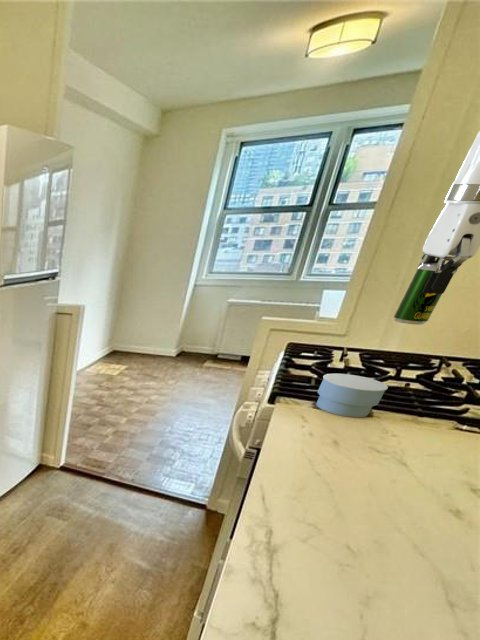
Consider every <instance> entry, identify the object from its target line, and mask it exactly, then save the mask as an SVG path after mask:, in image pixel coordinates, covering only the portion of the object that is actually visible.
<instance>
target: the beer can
mask: <svg viewBox="0 0 480 640" xmlns="http://www.w3.org/2000/svg"><path fill="white" fill-rule="evenodd" d="M445 264H446V263H445ZM445 264H444V265H445ZM437 265H438V263H422V265H421V266H420V267H419V268H418V267H417V269H416V271H415V274H414V276H413V277H412V279H411V281H410V284H409V285H408V288H407V290H406V291H405V294H404V295H403V298H402V300H401V301H400V303H399V305H398V308H397V309H396V312H395V314H394V316H393V321H394V322H397V323H401V324H407V325H415V326H416V325H419V326H421V325H425V324H426V323H428V321H429V319H430V317H431V316H432V313H433V312H434V311H435V309H436V306H437V304H438V303H439V301H440V299H441V297H442V295H443V294H433V293H423V292H422V291H423V289H424V287H425V285H426V283H427V281H428V279H429V277H430V275H431V273H435V270H436V268H437Z"/></svg>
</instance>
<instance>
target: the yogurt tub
mask: <svg viewBox="0 0 480 640" xmlns="http://www.w3.org/2000/svg"><path fill="white" fill-rule="evenodd" d="M388 388H389V387H388V385H387V384H385V383H383V382H382V381H380V380H376V379H373V378H370V377H365V376H362V375H361V376H360V375H355V374H349V373H326V374H324V375H323V376H322V381H321V383H320V385H319V387H318V390H317V394H318V395H319V396H318V399H317V400H316V402H315V406H316V407H318V408H319V409H321V410H322V411H325V412H327V413H330V414H334V415H338V416H341V417H343V416H344V417H349V418H350V417H351V418H365V417H367V416H368V415H369V414H370V412H371V410H372V408H373V407H375V406H378V405H379V403H380V401H381V399H382V398H383V395H384V394H385V392H386V391H387V390H388Z"/></svg>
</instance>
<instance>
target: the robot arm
mask: <svg viewBox="0 0 480 640" xmlns="http://www.w3.org/2000/svg"><path fill="white" fill-rule="evenodd" d="M443 204H445V206H444V208H443V209H442V210H441V212H440V214H439V215H438V218H437V219H436V221H435V223H434V224H433V226H432V228H431V231H429V234H428V236H427V237H426V240H425V242H424V244H423V246H422V256H421V261H420V262H419V264H418V266H417V269H418V268H419V267H420V266H421V265H422V263H438V265H437V268H436V270H435V273H431V275H430V277H429V279H428V281H427V283H426V285H425V287H424V289H423V291H422V292H423V293H433V294H442V295H443V294H444V293H445V292H446V290H447V288H448V286H449V285H450V283H451V280H452V278H453V277H454V275H455V274H456V273H457V271H458V270H459V268H460V267H461V266H462V265H463V263H465V262H466V261H467V260H469V259H471V258H474V257H475V256H476V254H477V253H478V250H479V249H480V130H479V131H478V132H477V134H476V136H475V138H474V140H473V142H472V144H471V146H470V148H469V150H468V153H467V155H466V156H465V158H464V161H463V163H462V165H461V167H460V169H459V170H458V173H457V174H456V176H455V179H454V181H453V182H452V185H451V187H450V189H449V191H448V193H447V195H446V197H445V200H444V201H443ZM444 264H445V265H444Z"/></svg>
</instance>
